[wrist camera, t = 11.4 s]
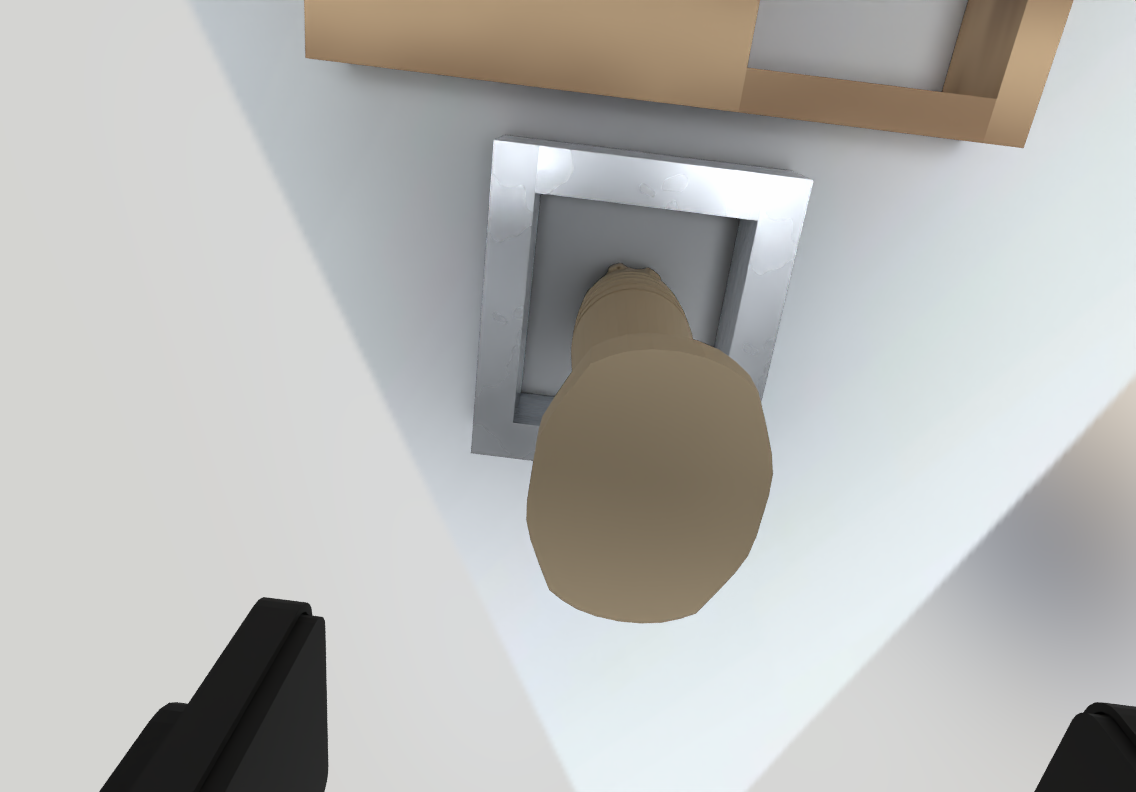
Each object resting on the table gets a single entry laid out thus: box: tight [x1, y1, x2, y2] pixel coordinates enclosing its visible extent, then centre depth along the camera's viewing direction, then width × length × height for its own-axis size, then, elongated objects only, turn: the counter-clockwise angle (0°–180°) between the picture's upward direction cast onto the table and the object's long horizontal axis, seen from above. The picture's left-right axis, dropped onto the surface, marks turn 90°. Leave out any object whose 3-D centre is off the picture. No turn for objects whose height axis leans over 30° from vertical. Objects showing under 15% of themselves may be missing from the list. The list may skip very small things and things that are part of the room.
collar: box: [471, 135, 814, 461], centre depth 28 cm, size 12×10×3 cm
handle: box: [526, 263, 773, 623], centre depth 22 cm, size 5×6×15 cm
